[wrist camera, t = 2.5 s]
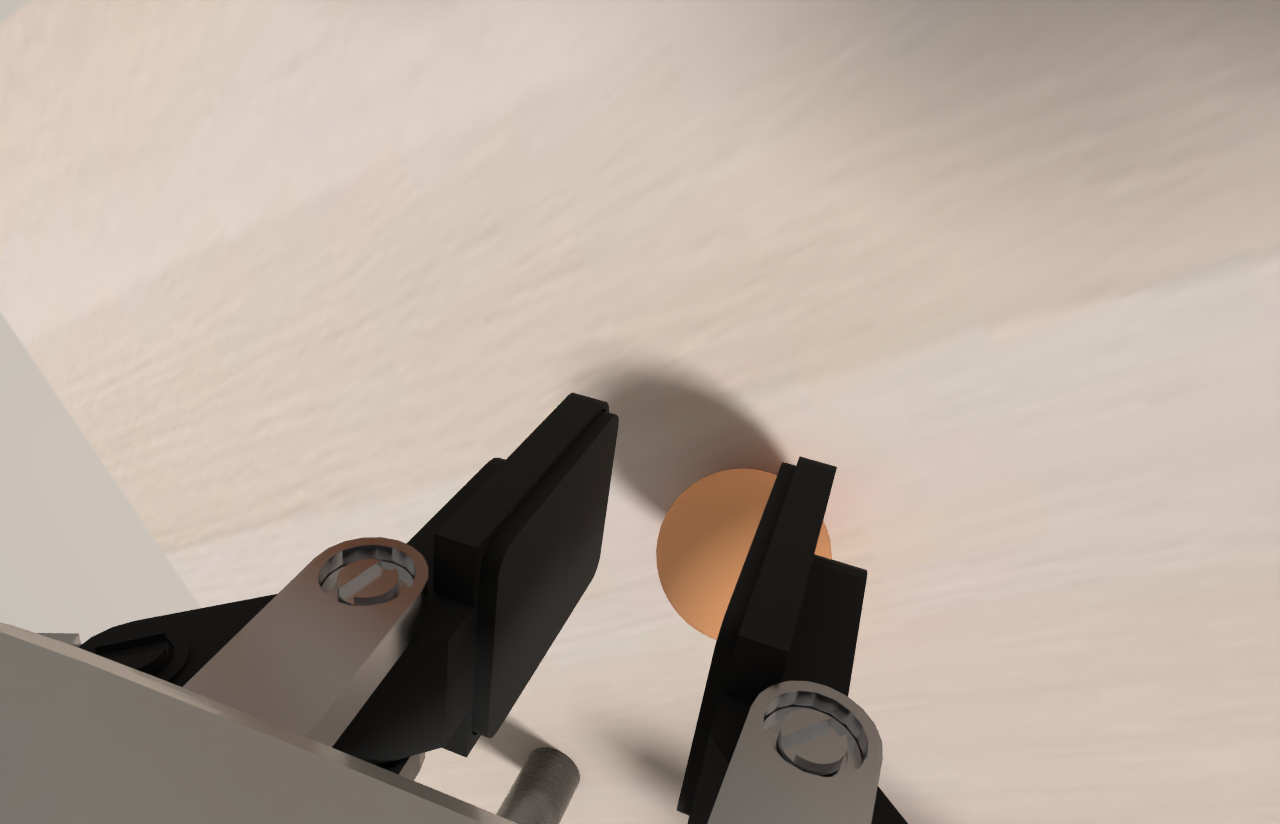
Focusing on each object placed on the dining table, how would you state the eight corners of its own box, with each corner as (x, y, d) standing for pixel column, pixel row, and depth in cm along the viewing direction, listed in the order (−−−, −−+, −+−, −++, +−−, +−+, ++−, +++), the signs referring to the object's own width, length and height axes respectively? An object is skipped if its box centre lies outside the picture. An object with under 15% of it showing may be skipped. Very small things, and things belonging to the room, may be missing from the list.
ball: (697, 420, 29) (646, 503, 24) (859, 465, 28) (839, 563, 23) (672, 549, 32) (622, 647, 27) (820, 596, 31) (794, 707, 26)
